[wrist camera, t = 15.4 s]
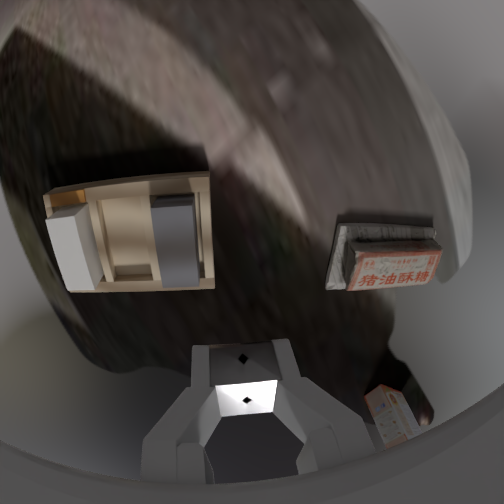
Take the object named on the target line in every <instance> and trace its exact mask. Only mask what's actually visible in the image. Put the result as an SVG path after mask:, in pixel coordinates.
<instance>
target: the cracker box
mask: <svg viewBox="0 0 504 504" xmlns="http://www.w3.org/2000/svg"><path fill="white" fill-rule="evenodd" d="M364 398H365V400H366V403H367V405H368V407H369V409H370V412H371V414H372V416H373V419H374V421H375V423H376V426H377V428H378V430H379V433H380V435H381V437H382V440H383V442H384V444H385V447H386V449H388V448H391V447H393V446H396V445H398V444H400V443H403V442H405V441H407V440H410V439H412V438H414V437H416V436H418V435H420V434H422V432H421V430H420V428H419V426H418V424H417V422H416V420H415V418H414V416H413V414H412V412H411V410H410V408H409V406H408V404H407V402H406V400H405V398H404V396H403V395H402V393H401V392H400V391H397V390H395V389H392V388H390V387H387V386H385V385H383V384H380V385H379V386H377V387H376V388H375V389H373V390H372V391H371V392H369V393H368V394H366V395H365V396H364Z"/></svg>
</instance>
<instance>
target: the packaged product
mask: <svg viewBox="0 0 504 504" xmlns="http://www.w3.org/2000/svg"><path fill="white" fill-rule="evenodd" d="M435 235H436V229H434V228H432V227H417V226H409V225H396V224H381V223H338V226H337V230H336V235H335V240H334V245H333V250H332V254H331V258H330V263H329V267H328V271H327V276H326V283H325V287H326V290H330V289H346V291H351V290H367V289H379V288H390V287H401V286H410V285H421V284H427V283H428V282H429V281H430V280H431V279H432V278H433V277H434V273H435V271H436V268H437V265H438V263H439V261H440V257H441V254H442V250H443V249H442V248H441V246H440V245H438V243H437V242H436V241H435V240H434V238H435Z"/></svg>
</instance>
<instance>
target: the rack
mask: <svg viewBox="0 0 504 504" xmlns="http://www.w3.org/2000/svg"><path fill="white" fill-rule="evenodd" d="M43 198H44V203H45V208H46V213H47V217H48V218H49V217H50V216H51V215H52V214H54V213H55V212H56V211H58V210H59V209H60V208H61V207H67V206H73V205H80V204H87V203H88V205H89V210H90V215H91V220H92V225H93V230H94V235H95V239H96V243H97V248H98V252H99V256H100V260H101V263H102V267H103V271H104V275H103V276H102V278H101V280H100V282H99V284H98V285H97V287H96V289H95V290H74V291H70V292H132V291H166V290H191V289H213V288H215V274H214V259H213V242H212V223H211V201H210V173H209V171H197V172H181V173H168V174H156V175H145V176H135V177H126V178H118V179H110V180H103V181H95V182H89V183H82V184H76V185H70V186H64V187H58V188H54V189H53V190H51V191H49V192H48V193H46V194H45V195H43Z"/></svg>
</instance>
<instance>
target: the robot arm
mask: <svg viewBox="0 0 504 504" xmlns="http://www.w3.org/2000/svg"><path fill="white" fill-rule="evenodd" d="M265 412H273V413H274V414H275V415H276V416H277V417H278V418H279V419H280V420H281V421H282V422H283V423H284V424H285V425H286V426H287V427H288V428H289V429H290V430H291V431H292V432H293V433H294V434H295V435H296V436H297V437H298V438H299V439H300V440H301V441H302V442H303V443H304V444H305V445H304V447H303V449H302V451H301V453H300V455H299V457H298V459H297V461H296V464H297V468H298V472H299V475H295V476H289V477H283V478H277V479H270V480H262V481H254V482H243V483H229V484H214V475H213V470H212V467H211V465H210V462H209V460H208V457H207V455H206V452H205V450H204V446H205V444H206V443H207V441H208V439H209V438H210V436H211V434H212V432H213V431H214V429H215V427H216V426H217V424H218V422H219V421H220V419H221V416H232V415H242V414H251V413H252V414H253V413H265ZM0 504H504V383H503V384H502V385H501V386H500V387H498V388H497V389H496V390H494V391H493V392H491V393H490V394H489V395H487V396H486V397H484V398H483V399H481V400H480V401H479V402H477V403H475V404H474V405H473V406H471V407H469V408H468V409H466V410H464V411H463V412H461V413H459V414H458V415H456V416H454V417H453V418H451V419H449V420H447V421H446V422H444V423H442V424H440V425H438V426H436V427H434V428H432V429H430V430H428V431H426V432H424V433H422V434H420V435H418V436H416V437H414V438H412V439H410V440H407V441H405V442H403V443H400V444H398V445H396V446H393V447H391V448H388V449H386V450H383V451H381V452H378V453H376V451H375V449H374V446H373V444H372V441H371V439H370V436H369V434H368V431H367V429H366V427H365V425H364V422H363V420H362V417H360V416H359V415H358V414H356V413H355V412H353V411H352V410H350V409H349V408H347V407H346V406H345V405H343V404H342V403H340V402H339V401H338V400H336V399H335V398H333V397H332V396H331V395H329V394H328V393H326V392H325V391H324V390H322V389H321V388H320V387H318V386H317V385H316V384H314V383H313V382H312V381H310V380H309V379H308V378H306V377H302V378H301V376H300V373H299V370H298V367H297V364H296V361H295V357H294V354H293V351H292V348H291V345H290V342H289V340H288V339H280V340H272V341H271V340H270V341H261V342H251V343H240V344H224V345H193V349H192V373H191V387H188V388H186V389H185V390H184V391H183V392H182V394H181V395H180V396H179V397H178V399H177V400H176V401H175V402H174V403H173V405H172V406H171V407H170V408H169V409H168V411H167V412H166V413H165V414H164V416H163V417H162V418H161V419H160V420H159V421H158V423H157V424H156V425H155V426H154V428H153V429H152V430H151V431H150V432H149V433H148V435H147V436H146V437H145V438H144V440H143V449H142V462H141V479H140V481H138V480H131V479H124V478H118V477H113V476H107V475H102V474H98V473H93V472H88V471H84V470H81V469H77V468H73V467H70V466H66V465H63V464H60V463H56V462H53V461H50V460H47V459H44V458H42V457H39V456H36V455H33V454H31V453H28V452H26V451H23V450H21V449H19V448H16V447H14V446H12V445H10V444H7V443H5V442H3V441H1V440H0Z"/></svg>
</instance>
